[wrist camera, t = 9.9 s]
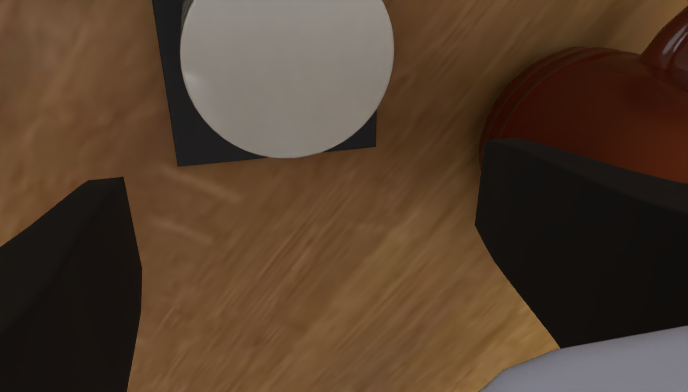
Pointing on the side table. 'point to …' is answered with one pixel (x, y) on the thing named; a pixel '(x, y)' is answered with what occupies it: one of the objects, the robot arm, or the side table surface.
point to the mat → (187, 124)
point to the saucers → (286, 70)
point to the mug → (605, 104)
